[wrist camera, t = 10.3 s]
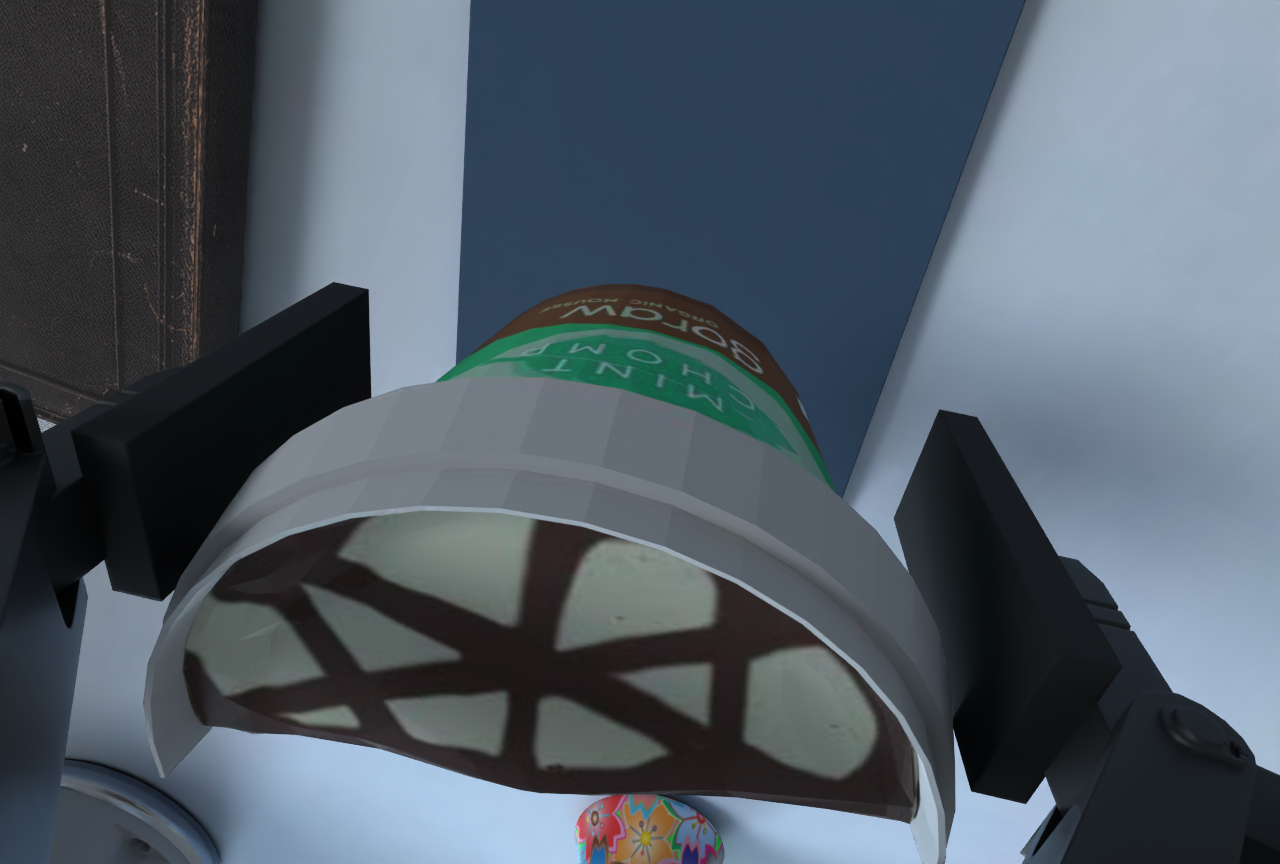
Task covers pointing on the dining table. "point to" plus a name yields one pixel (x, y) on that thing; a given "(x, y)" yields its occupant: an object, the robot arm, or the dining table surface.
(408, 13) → the dining table surface
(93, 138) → the hardcover book
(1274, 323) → the dining table surface
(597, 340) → the food container
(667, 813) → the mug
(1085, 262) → the dining table surface
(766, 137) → the mat
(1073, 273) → the dining table surface
